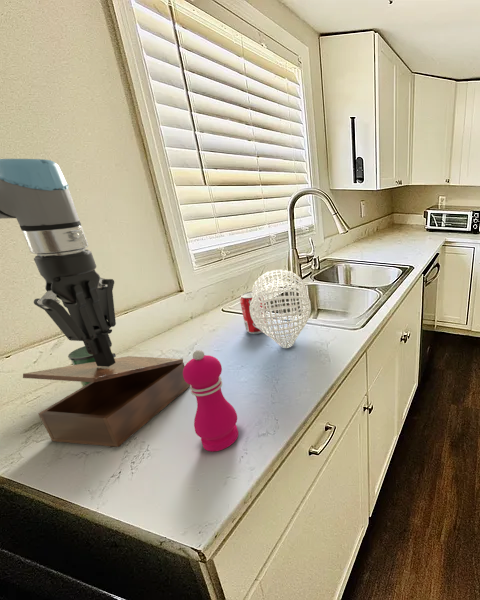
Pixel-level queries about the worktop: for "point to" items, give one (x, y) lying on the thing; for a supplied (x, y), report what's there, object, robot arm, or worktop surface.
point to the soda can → (248, 320)
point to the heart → (257, 313)
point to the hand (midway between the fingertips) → (106, 364)
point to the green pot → (82, 358)
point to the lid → (103, 369)
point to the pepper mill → (210, 403)
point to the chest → (113, 407)
